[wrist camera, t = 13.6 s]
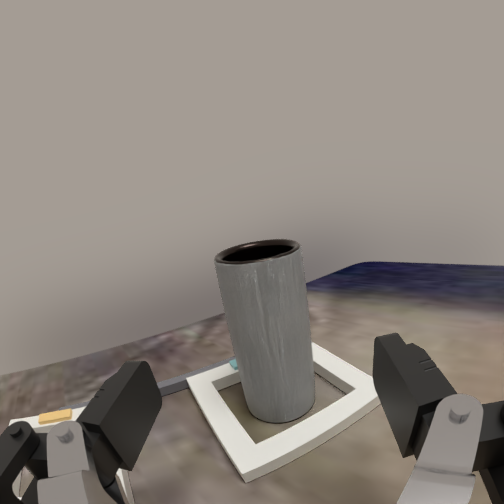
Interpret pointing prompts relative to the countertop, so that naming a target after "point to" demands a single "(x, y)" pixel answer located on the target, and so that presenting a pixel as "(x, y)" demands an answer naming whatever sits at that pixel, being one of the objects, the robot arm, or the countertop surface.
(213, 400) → the socket
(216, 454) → the countertop surface
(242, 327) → the planter
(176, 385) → the thin gray bar
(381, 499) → the countertop surface
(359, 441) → the countertop surface
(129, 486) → the socket
